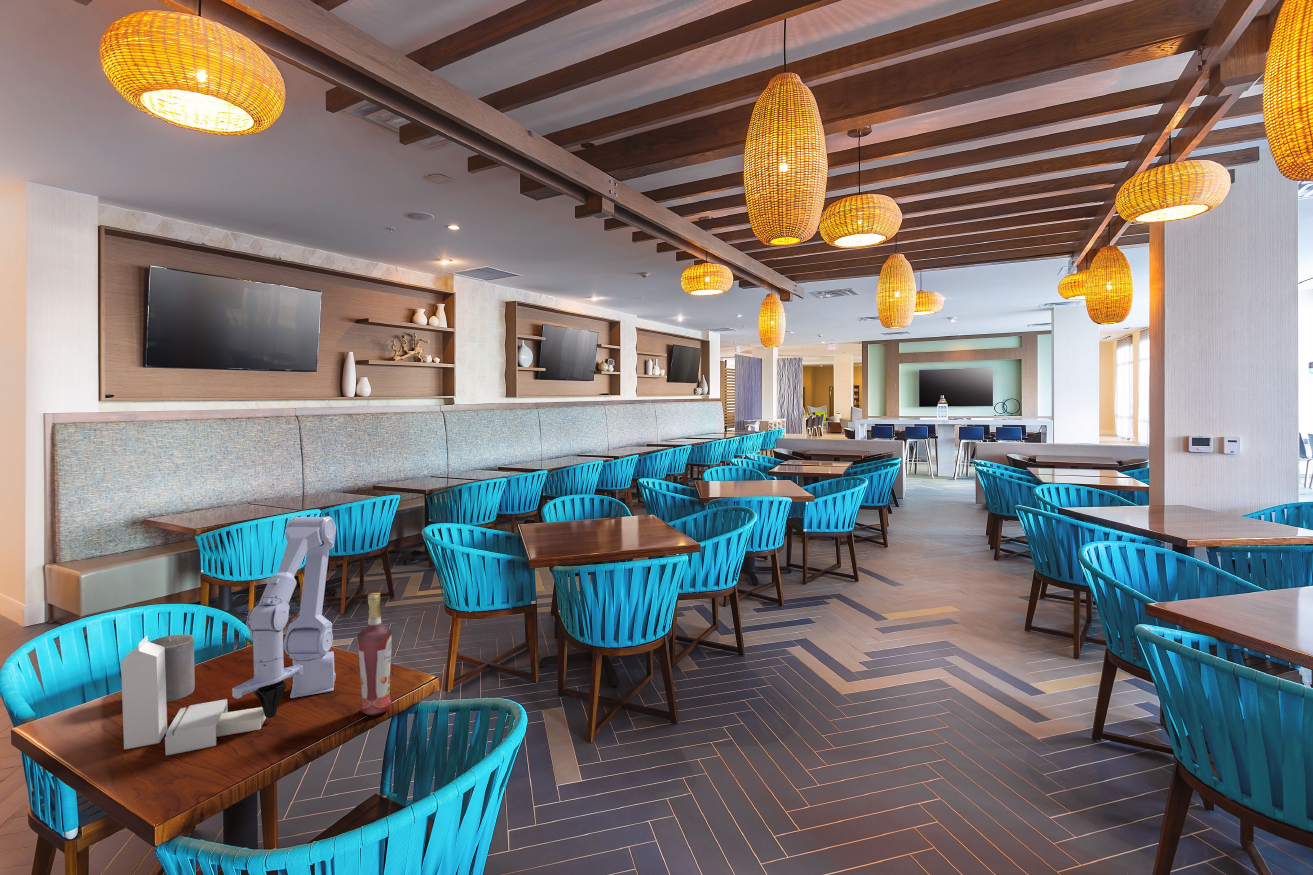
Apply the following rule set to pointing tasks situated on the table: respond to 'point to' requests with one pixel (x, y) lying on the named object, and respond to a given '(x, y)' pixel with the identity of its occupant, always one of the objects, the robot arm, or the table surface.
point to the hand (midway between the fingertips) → (270, 715)
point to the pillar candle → (178, 665)
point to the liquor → (375, 661)
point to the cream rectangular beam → (240, 721)
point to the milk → (144, 695)
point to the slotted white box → (194, 727)
